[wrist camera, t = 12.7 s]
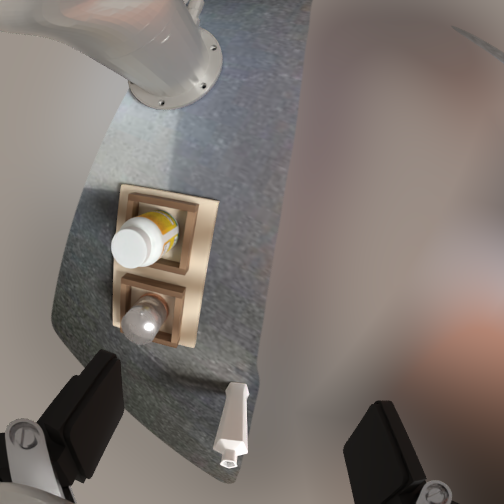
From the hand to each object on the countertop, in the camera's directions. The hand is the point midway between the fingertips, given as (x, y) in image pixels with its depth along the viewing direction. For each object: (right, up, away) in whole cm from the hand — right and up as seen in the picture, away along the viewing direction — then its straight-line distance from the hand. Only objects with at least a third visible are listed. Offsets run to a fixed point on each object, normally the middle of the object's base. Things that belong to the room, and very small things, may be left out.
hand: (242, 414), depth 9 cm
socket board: (-12, +3, +29) cm, 32 cm away
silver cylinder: (-13, -2, +29) cm, 32 cm away
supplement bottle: (-11, +9, +27) cm, 30 cm away
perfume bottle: (-2, -16, +34) cm, 38 cm away
